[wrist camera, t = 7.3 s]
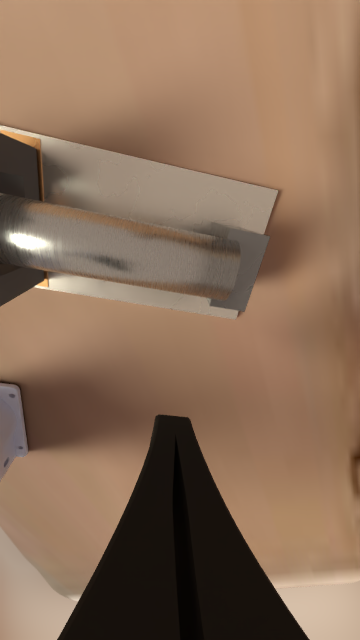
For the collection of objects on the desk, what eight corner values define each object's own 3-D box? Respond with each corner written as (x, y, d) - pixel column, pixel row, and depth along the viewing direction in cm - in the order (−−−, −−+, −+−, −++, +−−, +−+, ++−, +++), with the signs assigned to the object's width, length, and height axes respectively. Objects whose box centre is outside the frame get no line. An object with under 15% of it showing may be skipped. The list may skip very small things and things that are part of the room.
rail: (275, 190, 15) (365, 177, 8) (234, 317, 18) (271, 380, 12) (-118, 98, 12) (-480, -38, 5) (-71, 268, 16) (-248, 312, 9)
